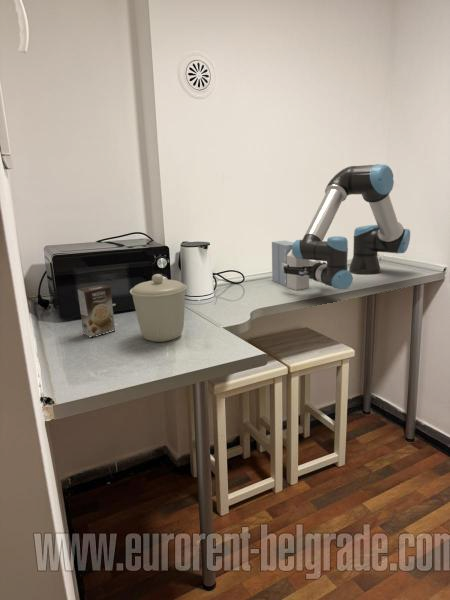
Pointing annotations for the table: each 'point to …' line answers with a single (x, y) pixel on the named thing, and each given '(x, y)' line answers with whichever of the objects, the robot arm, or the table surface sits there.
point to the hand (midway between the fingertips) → (295, 264)
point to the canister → (160, 308)
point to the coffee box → (96, 310)
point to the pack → (280, 260)
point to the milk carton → (297, 280)
